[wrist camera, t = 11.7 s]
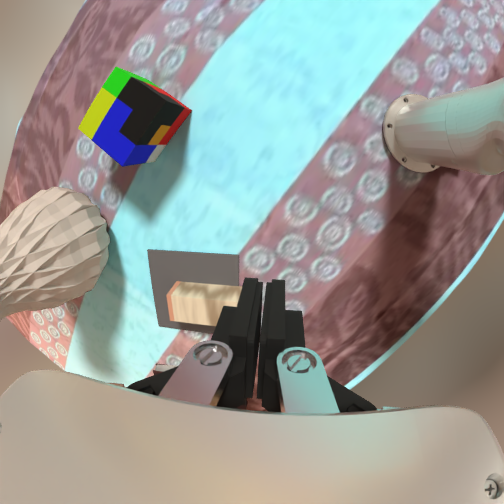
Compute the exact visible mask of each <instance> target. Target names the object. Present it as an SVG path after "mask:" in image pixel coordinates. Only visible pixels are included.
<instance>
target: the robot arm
mask: <svg viewBox="0 0 504 504" xmlns="http://www.w3.org/2000/svg"><path fill="white" fill-rule="evenodd" d="M403 99H404V100H405V102H404V100H403ZM387 125H389V128H388V127H387ZM383 132H384V138H385V142H386V144H387V147H388V149H389V151H390V152H391V154H392V156H393V157H394V158H395V159H396V160H397V161H398V162H399V163H400V164H401V165H402V166H404V167H405V168H407V169H409V170H412V171H415V172H421V173H424V172H430V171H434V170H435V169H437V168H439V167H440V166H443V167H448V168H453V169H458V170H463V171H467V172H472V173H477V174H481V175H495V174H498V173H500V172H502V171H504V77H503V78H501V79H499V80H497V81H494V82H492V83H489V84H485V85H482V86H478V87H474V88H470V89H466V90H461V91H457V92H453V93H449V94H445V95H441V96H437V97H433V98H429V99H428V98H426V97H424V96H421V95H417V94H407V95H404V96H401V97H399V98H397V99H396V100H394V101H393V102H392V103H391V104H390V106H389V107H388V109H387V111H386V113H385V116H384V121H383ZM402 158H403V161H402ZM262 290H263V282H258V278H245V279H244V283H243V286H242V290H241V293H240V297H239V300H238V304H237V307H233V306H223V308H222V311H221V314H220V316H219V319H218V322H217V325H216V327H215V330H214V333H213V336H212V339H211V340H210V341H203V342H199V343H197V344H196V345H194V346H193V347H192V348H191V349H190V350H189V352H188V353H187V355H186V356H185V358H184V359H183V360H182V362H181V363H180V365H179V366H177V367H174V368H172V369H169V370H167V371H164V372H161V373H159V374H156V375H154V376H151V377H148V378H146V379H143V380H140V381H137V382H135V383H133V384H131V385H129V386H128V387H124V384H117V383H106V382H103V381H99V380H96V379H92V378H89V377H85V376H82V375H79V374H74V373H70V372H66V371H58V370H34V371H30V372H27V373H25V374H24V375H22V376H21V377H19V378H18V379H17V380H16V381H15V382H13V383H12V384H11V385H10V387H8V389H6V391H5V392H4V393H3V394H2V395H1V396H0V504H504V454H503V452H502V449H501V447H500V445H499V443H498V441H497V439H496V437H495V435H494V433H493V432H492V430H491V428H490V427H489V425H488V424H487V422H486V421H485V420H484V419H483V418H482V417H481V416H480V415H479V414H478V413H476V412H475V411H473V410H470V409H467V408H463V407H456V406H449V405H447V406H446V405H430V406H417V407H409V408H397V407H382V409H377V408H376V407H375V406H374V405H373V404H371V403H370V402H369V401H367V400H365V399H364V398H362V397H360V396H359V395H357V394H355V393H354V392H352V391H350V390H349V389H347V388H346V387H344V386H342V385H341V384H339V383H338V382H336V381H335V380H333V379H331V378H330V377H328V376H327V375H326V372H325V369H324V366H323V364H322V361H321V359H320V357H319V355H318V354H317V353H315V352H314V351H312V350H310V349H308V348H305V338H304V327H303V316H302V311H293V310H285V280H275V279H272V283H268V282H267V285H266V293H265V301H264V310H263V318H262V326H261V311H262ZM260 332H261V334H260ZM259 343H260V347H259ZM258 351H259V366H258V384H257V398H258V399H262V407H264V408H265V409H266V410H267V411H269V412H266V411H253V410H242V409H236V408H237V407H239V406H241V405H246V400H247V398H252V396H253V389H254V381H255V374H256V366H257V359H258Z"/></svg>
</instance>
